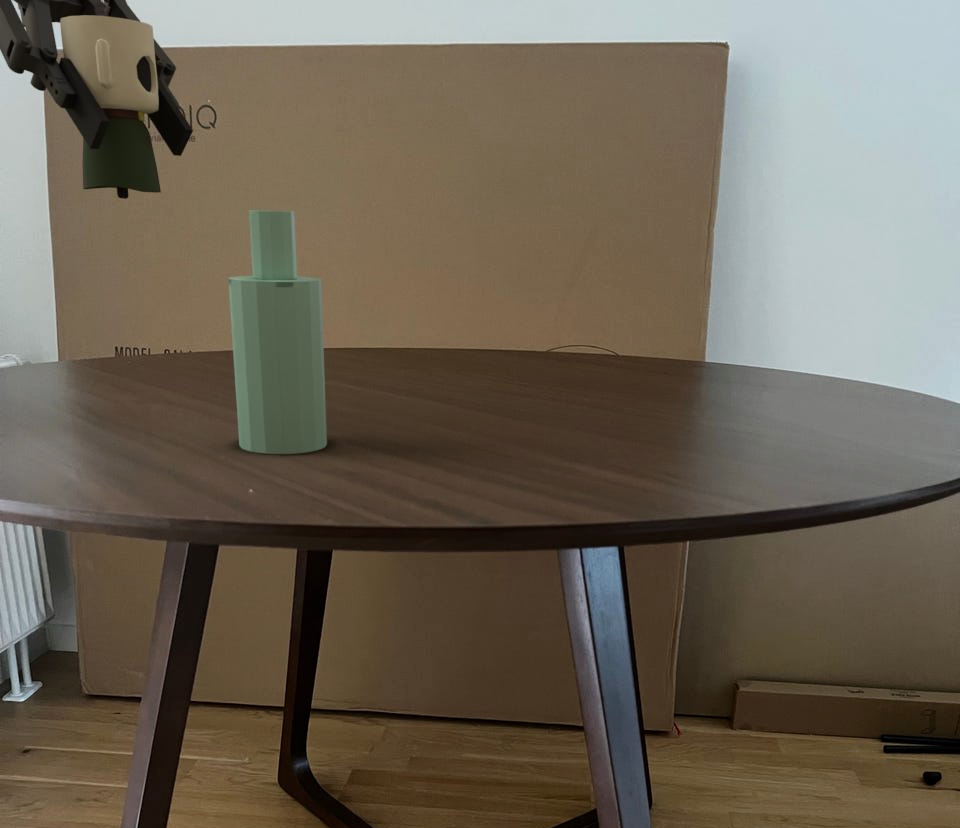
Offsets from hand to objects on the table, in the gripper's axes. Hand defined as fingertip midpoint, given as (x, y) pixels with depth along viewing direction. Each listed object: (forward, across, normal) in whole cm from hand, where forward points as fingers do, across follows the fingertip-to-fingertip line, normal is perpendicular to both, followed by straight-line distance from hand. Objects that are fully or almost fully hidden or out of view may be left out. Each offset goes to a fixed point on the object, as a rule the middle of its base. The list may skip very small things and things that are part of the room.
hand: (143, 138), depth 84 cm
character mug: (+1, 0, -6) cm, 6 cm away
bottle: (+26, -2, -8) cm, 27 cm away
